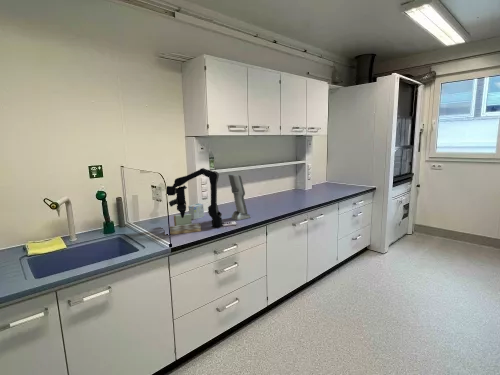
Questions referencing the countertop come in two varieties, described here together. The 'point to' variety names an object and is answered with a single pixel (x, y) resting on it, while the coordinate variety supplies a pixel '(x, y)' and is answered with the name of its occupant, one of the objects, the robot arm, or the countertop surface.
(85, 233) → the countertop surface
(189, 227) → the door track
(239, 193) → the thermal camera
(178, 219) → the door panel
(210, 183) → the robot arm
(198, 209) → the light bulb box
